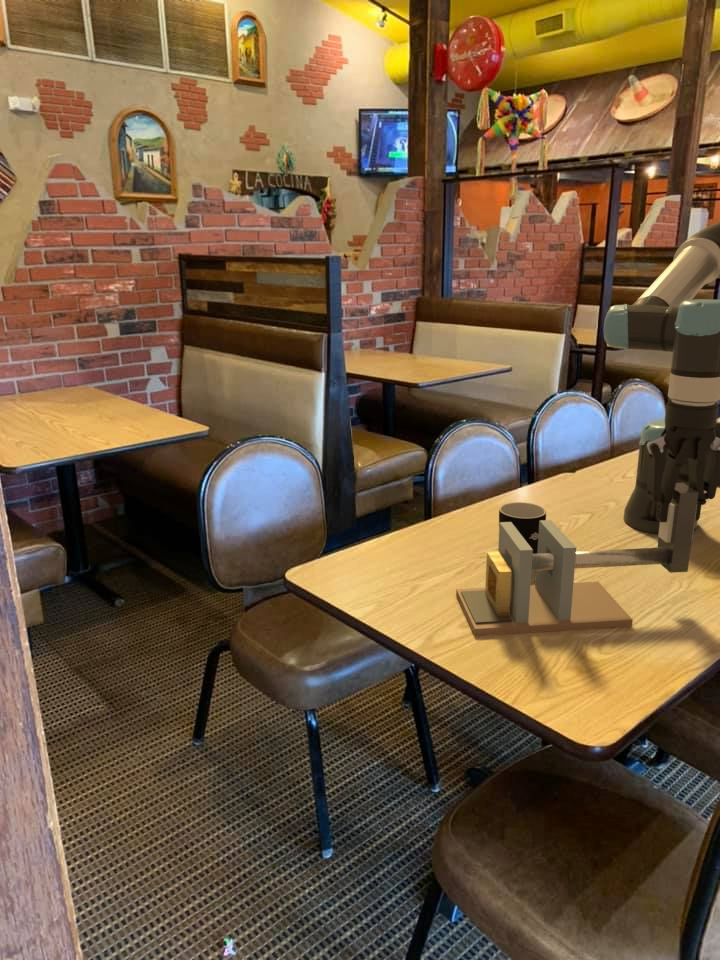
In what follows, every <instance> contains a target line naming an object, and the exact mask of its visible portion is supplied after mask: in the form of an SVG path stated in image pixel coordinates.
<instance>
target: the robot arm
mask: <svg viewBox="0 0 720 960" xmlns="http://www.w3.org/2000/svg"><path fill="white" fill-rule="evenodd" d="M716 279H720V221H718V222H715V223H712V224H711V225H708V226H707V227H704V228H702V229H701V230H699V231H697V232H695V233H694V234H693V235H691V236H689V238H687V239H686V240H685V241H683V243H681V245H680V246H679V247H678V248H677V250H676V251H675V253H674V255H673V259H672V261H671V263H670V264H669V265H668V266H667V267H666V268H665V270H663V272H662V273H661V274H660V275H659V276H658V277H656V279H655V280H654V281H653V282H652V284H651V285H649V287H648V288H647V289H645V291H644V292H643V293H642V294H641V296H640V297H638V298H637V300H636V301H635V302H634V303H632V304H627V303H623V304H615V305H612V306H611V307H610V308H609V309H608V311H607V313H606V315H605V318H604V323H603V338H604V341H605V343H606V345H607V346H609V347H611V348H615V349H616V348H617V349H625V350H627V351H628V350H636V351H637V350H638V351H652V352H666V353H667V352H669V353H672V357H671V358H672V359H671V365H670V367H671V368H670V373H669V375H670V376H669V383H668V389H667V391H668V392H667V397H668V398H669V400H668V401H667V402H666V405H665V407H666V408H665V413H664V415H665V416H664V418H662V419H661V418H660V419H655V420H652V421H649V422H647V423H646V424H644V425H643V427H642V429H641V434H640V440H639V443H638V445H639V446H638V447H639V448H638V456H637V457H638V458H637V460H638V461H637V469H636V478H635V486H634V489H633V491H632V492H631V494H630V497H629V499H628V502H627V503H626V505H625V507H624V511H623V521H624V522H625V523H626V524H627V525H628V526H630V527H633V528H635V529H636V530H639V531H643V532H645V533H650V534H651V533H652V534H656V535H657V536H658V538H659V537H660V538H661V539H662V540H664V541H665V542H670V541H671V534H672V526H673V518H674V510H675V505H674V504H672V503H671V500H672V496H673V493H674V489H675V486H676V483H684V484H686V485H687V486H689V487H690V488H692V489H694V490H695V491H697V492H698V500H697V507H696V514H695V522H694V529H693V532H694V531H696V529H697V528H698V522H699V519H700V517H701V510H702V506H704V505H706V504H707V500H712V499H714V498H716V493H717V492H716V491H717V489H720V417H718V415H719V414H718V413H719V405H718V403H717V402H719V400H720V299H711V298H710V299H707V298H706V299H704V298H701V299H700V298H699V299H695V297H696V295H698V293H699V292H700V291H701V289H702V288H703V287H704V286H705V285H708V284H709V283H712V282H713V281H715V280H716ZM693 537H694V535H693V536H692V540H693Z"/></svg>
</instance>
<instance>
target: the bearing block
mask: <svg viewBox="0 0 720 960" xmlns="http://www.w3.org/2000/svg"><path fill="white" fill-rule="evenodd" d="M497 549H498V550H497V551H499V553H500V554H501V556H502V557H503V559H504V560H505V562H506V563H507V565H508V566H509V568H510V569H511V571H512V576H511V594H510V613H509V616H497V615H496V613H495V611H494V609H493V608H492V606H491V604H490V602H489V600H488V598H487V597H486V595H485V587H474V588H473V587H472V588H458V589H457V588H455V589H456V590H455V595H456V598H457V599H458V600H457V601H458V602H459V604H460V607H461V609H462V611H463V613H464V615H465V617H466V619H467V622H468V624H469V626H470V629H471V630H472V633H473V635H474V636H489V635H490V636H492V635H505V634H506V635H508V634H510V635H511V634H524V633H537V632H538V633H541V632H555V631H557V632H559V631H574V630H575V631H576V630H592V629H606V628H609V629H610V628H623V627H626V628H627V627H633V621H634V620H633V618H632V617H631V616H630V615H629V614H628V613H627V611H625V609H624V608H623V607H622V606H621V605H620V604H619V602H617V600H616V599H615V598H614V597H613V596H612V595H611V594H610V592H608V591H607V589H606V588H605V587H604V586H603V585H602V584H601V583H600V582H599V581H586V582H585V581H584V582H574V580H575V572H576V571H575V559H576V552H577V546H576V545H575V544H573V542H572V541H571V540H570V539H569V538H568V537H567V535H565V534H564V533H563V531H561V529H560V528H559V527H558V526H557V525H556V524H555V522H553V521H552V520H551V519H546V520H540V521H539V535H538V551H537V554H540V553H553V555H554V563H553V570H539V571H535V581H534V582H535V584H532V572H533V571H532V555H533V549H532V548H531V547H530V546H529V544H528V543H527V542H526V540H525V539H524V538H523V537H522V535H521V534H520V533H519V531H518V530H517V529H516V528H515V526H514V525H513V524H512V522H500V525H499V524H498V548H497Z"/></svg>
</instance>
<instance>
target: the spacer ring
mask: <svg viewBox="0 0 720 960" xmlns="http://www.w3.org/2000/svg"><path fill="white" fill-rule="evenodd" d="M485 566H486V569H485V586H484V588H485V595H486V597H487V598H488V600H489V602H490V604H491V606H492V608H493V609H494V611H495V613H496V615H497V616H509V613H510V594H511V576H512V571H511V569H510V568H509V566H508V565H507V563H506V562H505V560H504V559H503V557H502V556H501V554H500V553H499V551H498V550H496V551H486V565H485Z"/></svg>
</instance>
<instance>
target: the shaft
mask: <svg viewBox="0 0 720 960" xmlns="http://www.w3.org/2000/svg"><path fill="white" fill-rule="evenodd" d="M697 500H698V492H697V491H695V490H694V489H692V488H690V487H689V486H687V485H686V484H684V483H676V486H675V489H674V493H673V496H672V500H671V503H672V504H674V505H675V510H674V518H673V526H672V534H671V541H670V542H665V541H664V540H662V539H661V538H660V537H659V536H658V541H657V547H643V548H641V547H640V548H638V547H637V548H626V549H625V548H623V549H620V548H619V549H606V550H605V549H602V550H585V551H582V550H581V551H576V559H575V569H594V568H595V569H596V568H610V567H611V568H614V567H629V566H631V567H632V566H648V565H649V566H650V565H661V566H662V567H663V568H664V569H665V570H667V571H668V573H670V574H671V573H672V574H673V573H688V571H689V564H690V563H689V562H690V556H691V550H692V543H693V539H692V536H693V537H694V531H693V529H694V522H695V514H696V507H697ZM553 563H554V555H553V553H540V554H533V555H532V571H531V572H536V571H539V570H553Z"/></svg>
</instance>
